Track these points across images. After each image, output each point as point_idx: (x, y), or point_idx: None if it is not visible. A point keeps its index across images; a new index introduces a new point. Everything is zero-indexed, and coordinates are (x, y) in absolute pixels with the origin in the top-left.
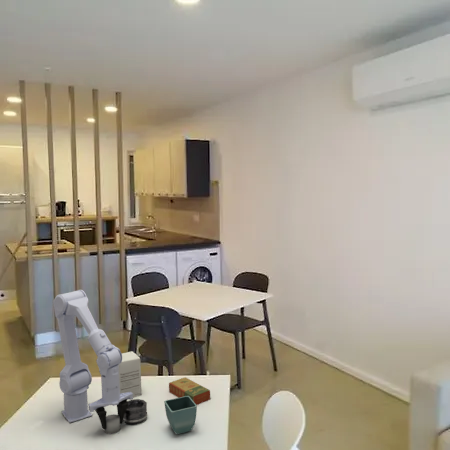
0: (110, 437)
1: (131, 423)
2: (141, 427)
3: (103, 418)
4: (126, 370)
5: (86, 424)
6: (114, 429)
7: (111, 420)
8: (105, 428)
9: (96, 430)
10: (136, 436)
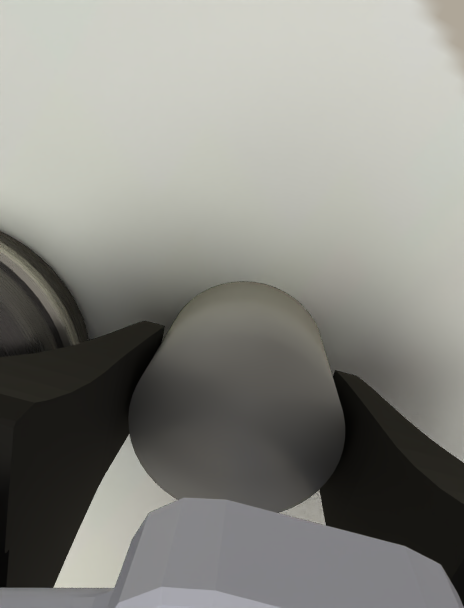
0: (355, 254)
1: (49, 280)
2: (3, 141)
3: (447, 463)
4: None
5: None
6: (274, 299)
7: (280, 392)
8: (349, 376)
9: None
10: (155, 9)
